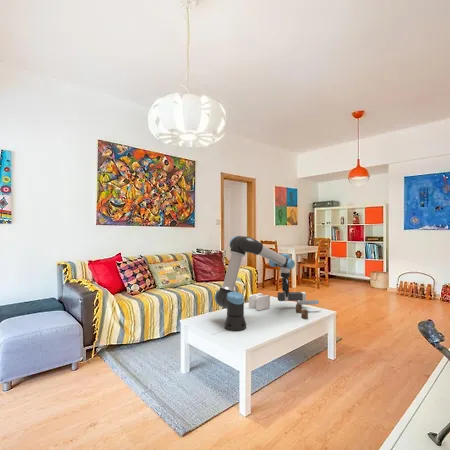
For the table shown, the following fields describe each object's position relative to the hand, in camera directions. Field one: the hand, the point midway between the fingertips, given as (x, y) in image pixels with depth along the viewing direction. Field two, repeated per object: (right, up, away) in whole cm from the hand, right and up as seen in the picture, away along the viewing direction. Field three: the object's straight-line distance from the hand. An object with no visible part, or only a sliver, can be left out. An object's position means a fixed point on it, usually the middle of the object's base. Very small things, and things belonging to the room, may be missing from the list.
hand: (285, 299), depth 240 cm
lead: (+5, 0, 0) cm, 5 cm away
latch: (+16, -1, -10) cm, 19 cm away
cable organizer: (-22, -8, +1) cm, 23 cm away
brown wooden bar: (+9, -8, -18) cm, 21 cm away
